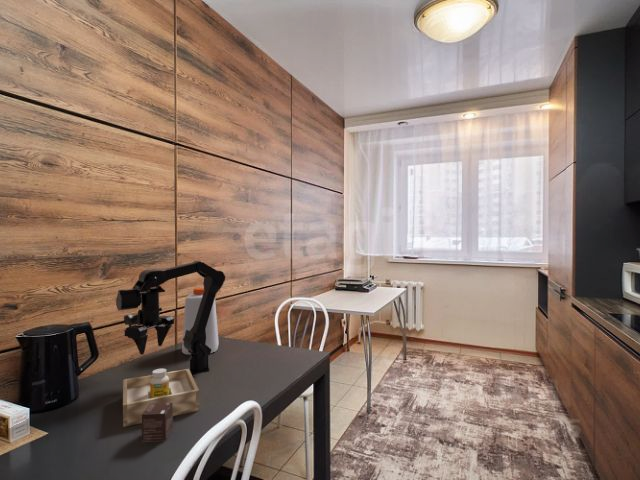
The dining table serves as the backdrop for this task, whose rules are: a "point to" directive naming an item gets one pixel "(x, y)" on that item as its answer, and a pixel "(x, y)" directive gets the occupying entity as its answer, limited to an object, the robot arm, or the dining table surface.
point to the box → (157, 422)
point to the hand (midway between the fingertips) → (151, 350)
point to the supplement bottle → (159, 383)
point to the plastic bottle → (190, 315)
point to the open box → (138, 397)
